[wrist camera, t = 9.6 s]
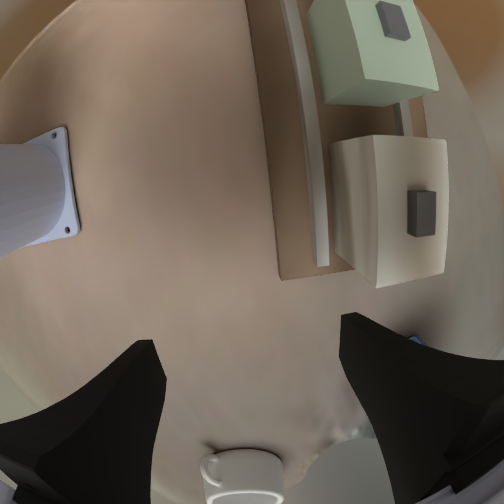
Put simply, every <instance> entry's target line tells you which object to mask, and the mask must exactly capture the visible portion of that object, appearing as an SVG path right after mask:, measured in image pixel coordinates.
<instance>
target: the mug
mask: <svg viewBox="0 0 504 504" xmlns="http://www.w3.org/2000/svg"><path fill="white" fill-rule="evenodd" d="M200 470H201V473H202V475H203V479H204V487H205V496H206V501H207V504H281V503H282V502H283V499H284V472H283V465H282V462H281V460H280V459H279V458H277V457H276V456H275V455H273V454H271V453H269V452H266V451H261V450H255V449H235V450H227V451H224V452H220V453H217V454H215V455H213V454H207V455H205V456H204V457H203V458H202V459H201V462H200Z"/></svg>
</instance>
